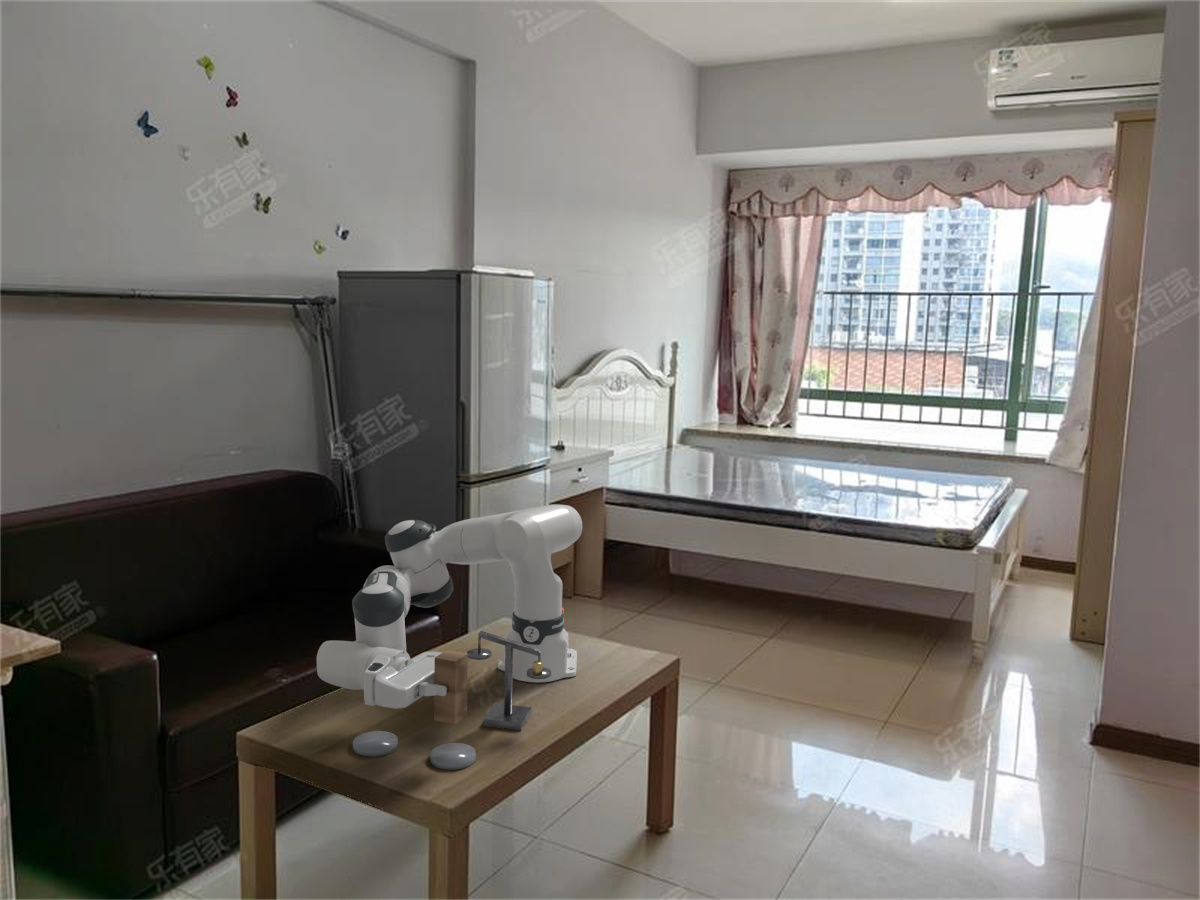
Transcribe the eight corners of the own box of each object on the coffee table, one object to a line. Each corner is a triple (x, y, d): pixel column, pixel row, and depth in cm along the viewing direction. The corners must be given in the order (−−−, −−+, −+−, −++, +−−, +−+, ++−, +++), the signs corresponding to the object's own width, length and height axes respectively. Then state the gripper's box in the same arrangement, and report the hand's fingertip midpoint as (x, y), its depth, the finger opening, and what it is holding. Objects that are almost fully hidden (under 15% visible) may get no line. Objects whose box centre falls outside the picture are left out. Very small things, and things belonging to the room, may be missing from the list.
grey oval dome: (364, 734, 184) (364, 728, 184) (404, 739, 183) (404, 733, 183) (345, 753, 176) (345, 747, 176) (387, 759, 175) (387, 753, 175)
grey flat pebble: (439, 746, 181) (439, 740, 180) (481, 751, 179) (481, 745, 179) (423, 766, 172) (423, 760, 172) (467, 772, 171) (467, 766, 171)
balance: (472, 707, 199) (474, 624, 196) (554, 716, 196) (556, 632, 193) (460, 723, 191) (461, 636, 188) (544, 733, 188) (547, 645, 185)
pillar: (446, 711, 177) (446, 649, 175) (467, 715, 175) (467, 653, 173) (434, 720, 173) (434, 657, 171) (455, 724, 171) (455, 661, 169)
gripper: (420, 670, 188) (482, 681, 183) (359, 708, 169) (426, 722, 164) (421, 639, 187) (482, 650, 182) (359, 674, 168) (426, 687, 163)
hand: (455, 684), depth 173 cm, fingers closed on pillar, 4 cm apart
